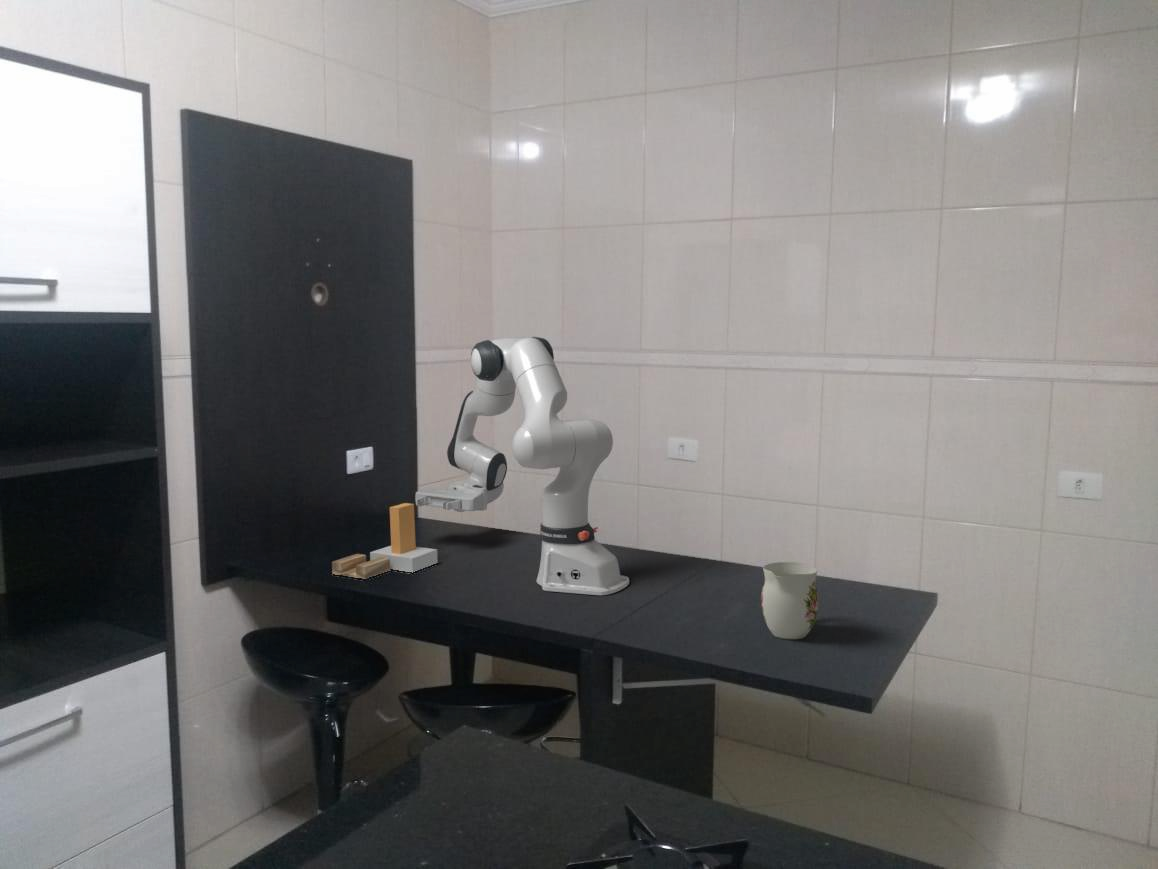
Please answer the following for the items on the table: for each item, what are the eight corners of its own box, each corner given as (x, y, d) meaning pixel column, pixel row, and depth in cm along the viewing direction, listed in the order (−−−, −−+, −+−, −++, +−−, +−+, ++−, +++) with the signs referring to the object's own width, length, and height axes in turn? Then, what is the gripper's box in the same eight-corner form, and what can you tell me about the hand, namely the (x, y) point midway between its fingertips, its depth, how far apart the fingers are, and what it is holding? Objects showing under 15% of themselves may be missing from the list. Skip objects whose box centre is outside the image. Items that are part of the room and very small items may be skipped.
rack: (390, 571, 222) (389, 558, 222) (365, 580, 215) (364, 566, 214) (357, 566, 228) (357, 553, 227) (332, 575, 220) (331, 561, 220)
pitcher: (828, 622, 179) (829, 557, 177) (807, 651, 163) (808, 579, 162) (775, 615, 184) (776, 551, 182) (749, 642, 168) (750, 572, 167)
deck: (437, 564, 229) (437, 549, 228) (412, 573, 220) (412, 558, 220) (396, 558, 236) (395, 543, 235) (370, 567, 227) (370, 552, 226)
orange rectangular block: (415, 548, 229) (413, 503, 228) (400, 554, 224) (398, 508, 223) (406, 547, 231) (405, 503, 229) (391, 552, 225) (389, 507, 224)
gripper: (433, 481, 253) (401, 490, 242) (491, 488, 244) (460, 497, 232) (433, 503, 254) (402, 512, 242) (491, 510, 244) (461, 520, 232)
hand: (431, 504), depth 237 cm, fingers open, 8 cm apart
